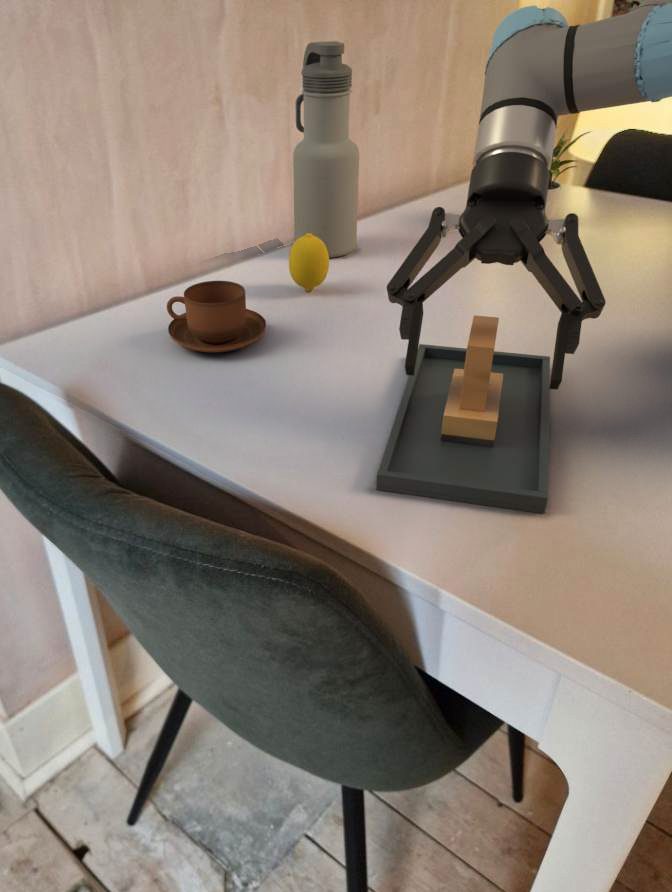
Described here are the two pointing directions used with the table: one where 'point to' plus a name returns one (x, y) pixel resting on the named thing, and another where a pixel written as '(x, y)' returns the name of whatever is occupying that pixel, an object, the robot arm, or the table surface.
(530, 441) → the tray
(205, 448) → the table surface
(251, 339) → the cup and saucer
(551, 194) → the house plant
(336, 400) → the table surface
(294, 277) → the lemon
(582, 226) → the table surface
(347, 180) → the water bottle
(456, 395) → the wooden block on base
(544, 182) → the robot arm
